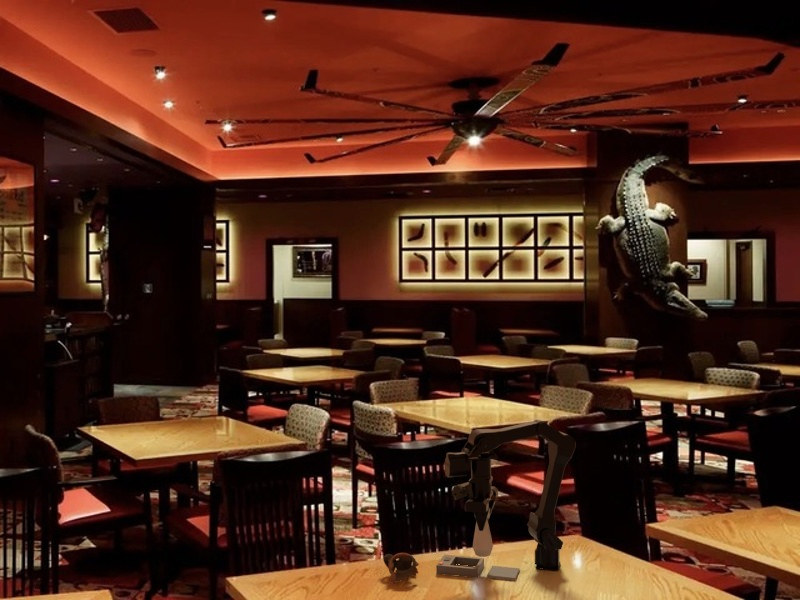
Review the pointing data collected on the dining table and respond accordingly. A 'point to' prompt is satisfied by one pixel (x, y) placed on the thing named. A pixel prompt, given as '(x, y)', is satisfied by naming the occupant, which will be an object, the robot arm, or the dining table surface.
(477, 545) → the salt shaker
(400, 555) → the pottery mug
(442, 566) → the grey rectangular tray
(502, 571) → the slate coaster
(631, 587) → the dining table surface
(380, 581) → the dining table surface
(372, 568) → the dining table surface
